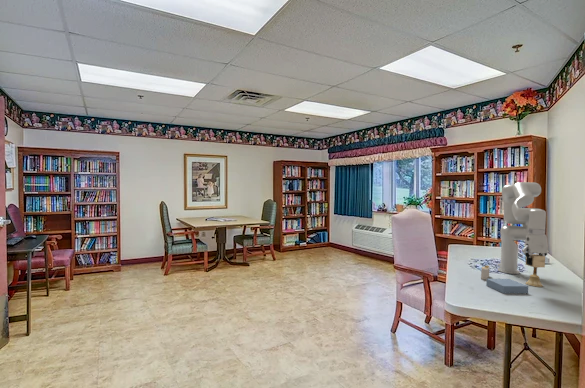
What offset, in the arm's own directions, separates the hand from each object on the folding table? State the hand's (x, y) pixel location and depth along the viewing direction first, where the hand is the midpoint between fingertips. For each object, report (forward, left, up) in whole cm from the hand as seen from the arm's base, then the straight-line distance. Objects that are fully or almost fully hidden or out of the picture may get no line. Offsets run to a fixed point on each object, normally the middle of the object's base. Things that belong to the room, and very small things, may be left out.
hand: (534, 264), depth 178 cm
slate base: (-4, -12, -15) cm, 20 cm away
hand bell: (-13, +12, -16) cm, 24 cm away
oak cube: (0, 0, -1) cm, 1 cm away
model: (-28, -9, -16) cm, 33 cm away
